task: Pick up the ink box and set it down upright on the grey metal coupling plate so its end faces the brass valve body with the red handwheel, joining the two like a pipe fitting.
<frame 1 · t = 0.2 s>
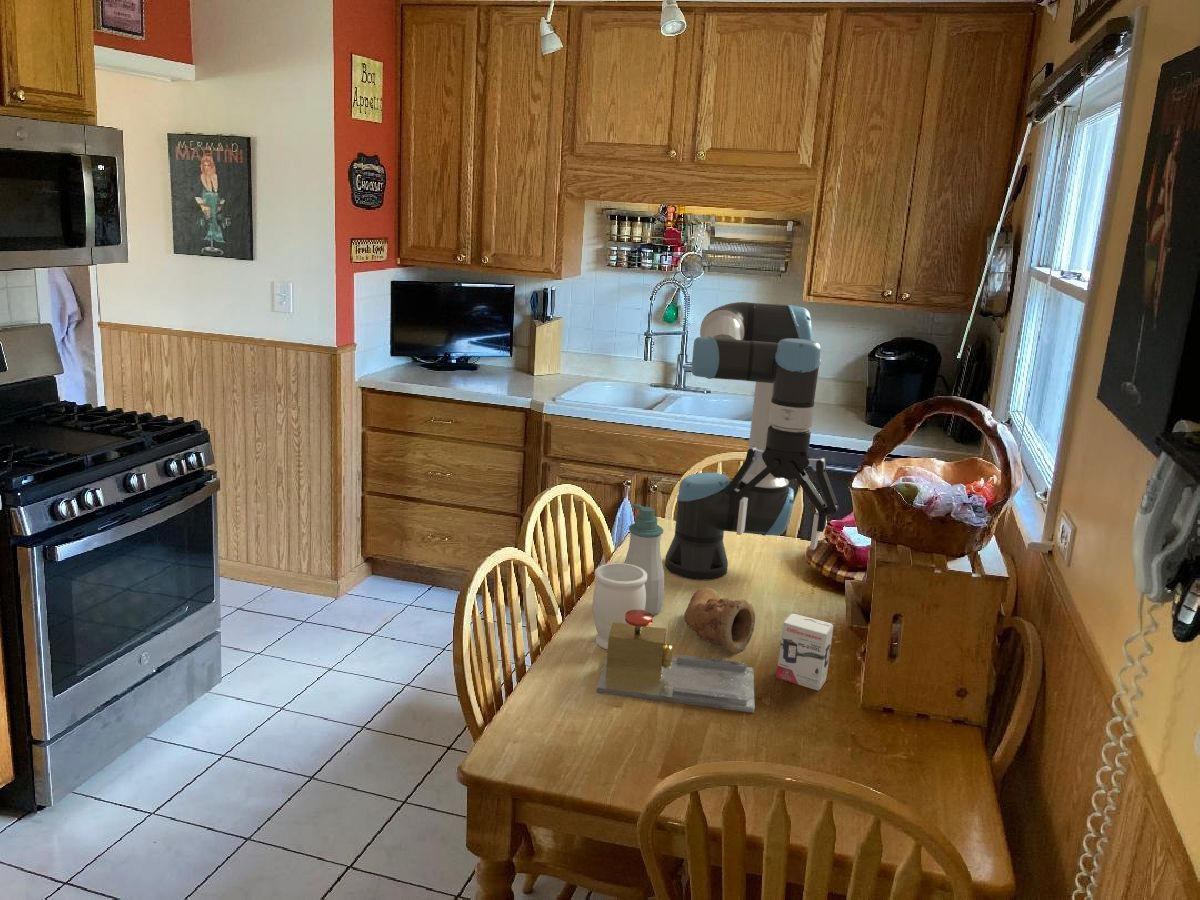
hand: (776, 540, 172), 27 cm above the table, fingers open, 13 cm apart
clay pipe: (717, 637, 194), on the table
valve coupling: (677, 682, 174), on the table
soap bottle: (639, 609, 204), on the table
ink box: (800, 680, 178), on the table
jar: (616, 643, 188), on the table
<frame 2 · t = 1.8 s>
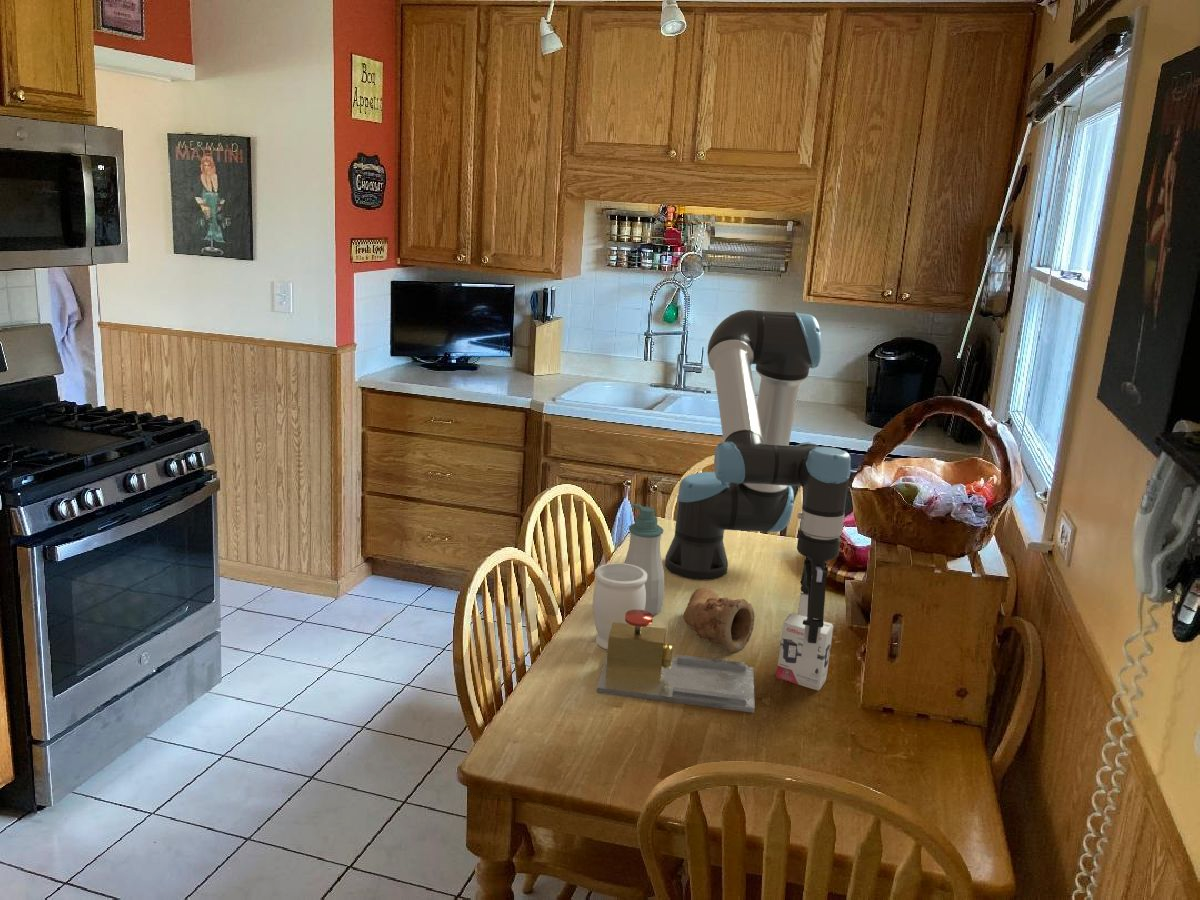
hand: (806, 641, 176), 8 cm above the table, fingers open, 13 cm apart
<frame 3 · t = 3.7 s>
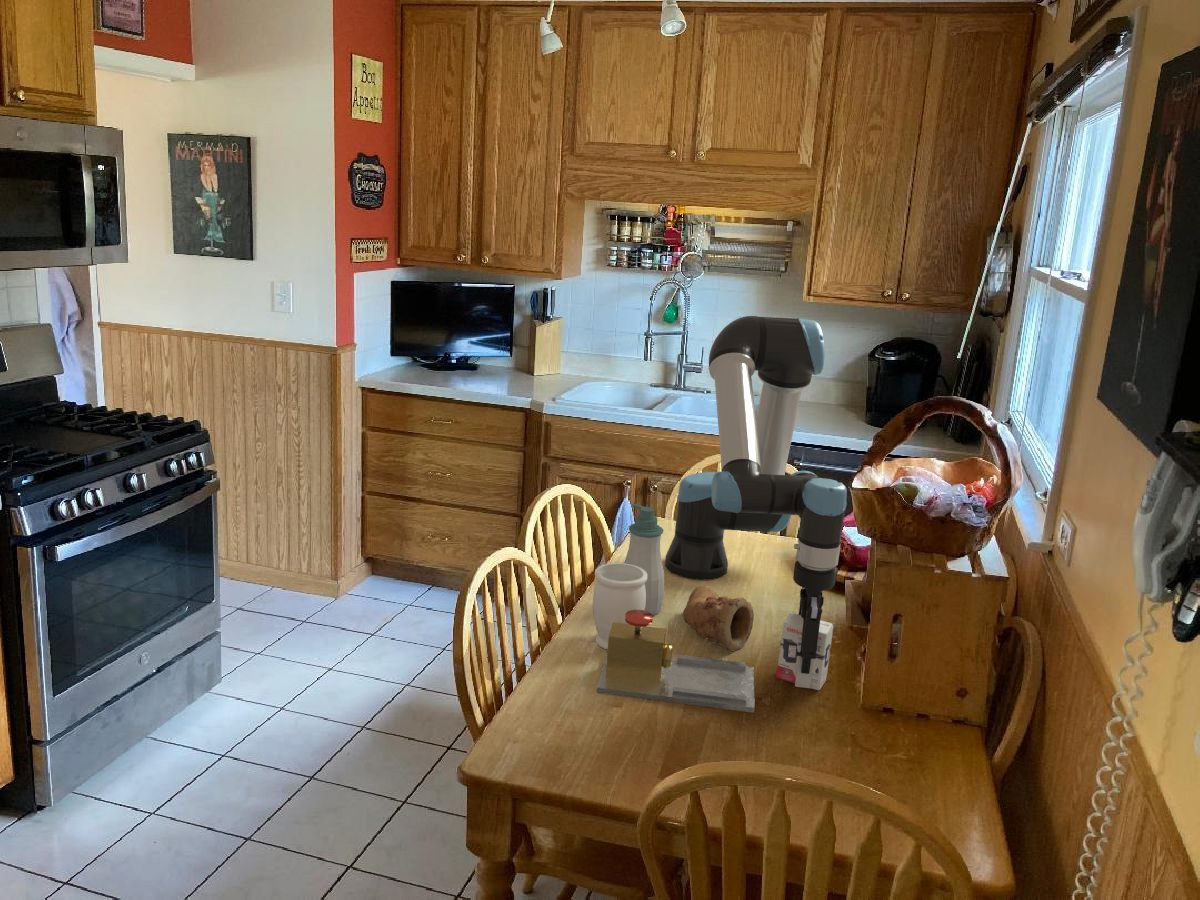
hand: (801, 677, 178), 0 cm above the table, fingers closed on ink box, 6 cm apart
ink box: (800, 680, 178), on the table, touching gripper
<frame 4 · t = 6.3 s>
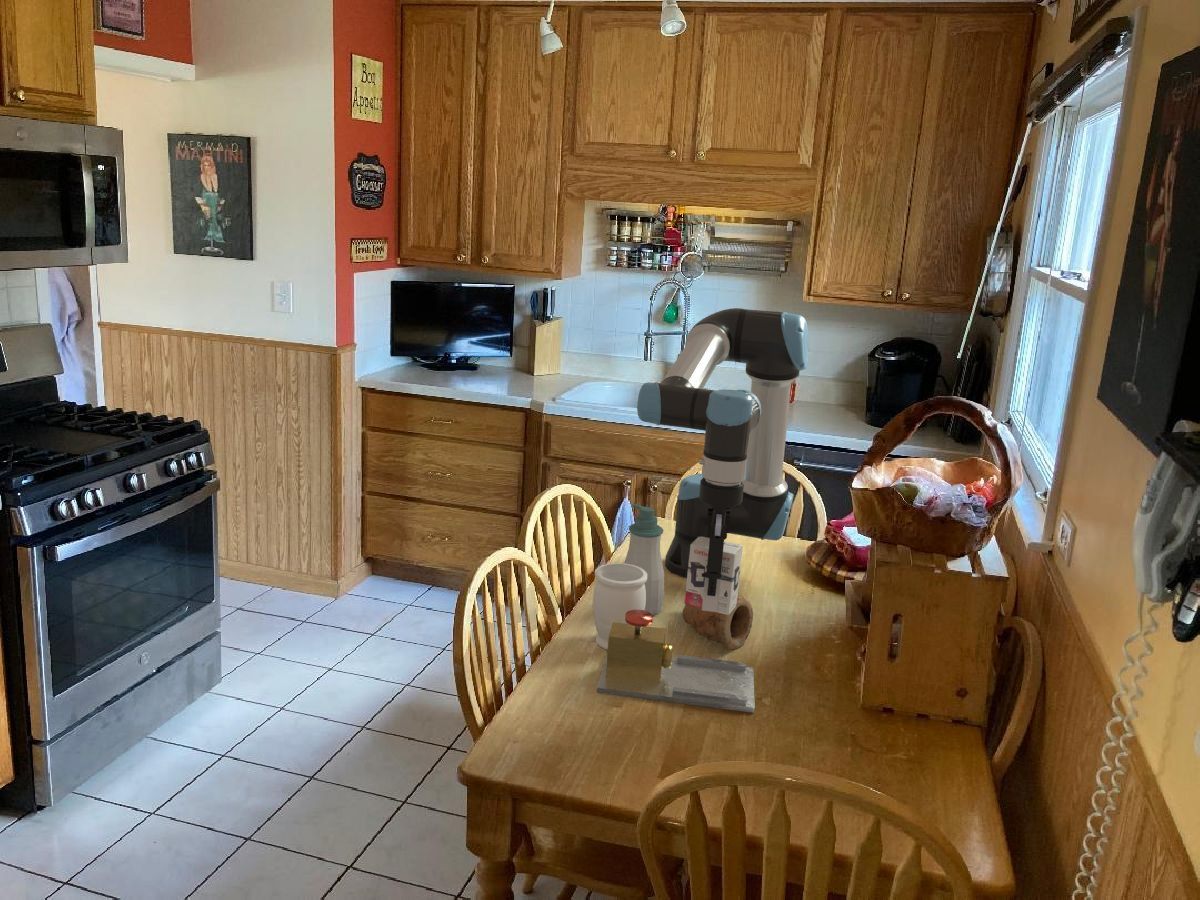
hand: (710, 602, 169), 17 cm above the table, fingers closed on ink box, 6 cm apart
ink box: (710, 606, 170), point 16 cm above the table, touching gripper
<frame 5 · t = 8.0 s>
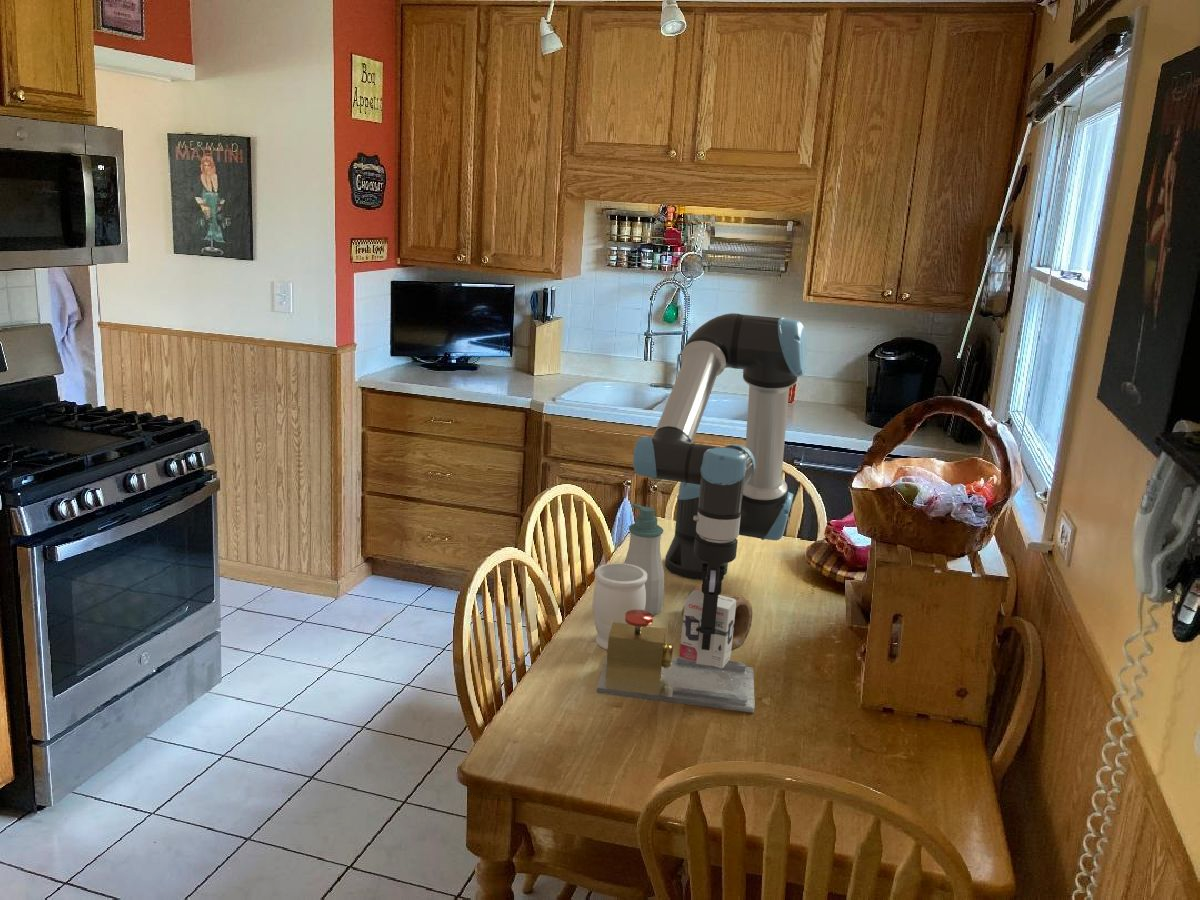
hand: (704, 654, 172), 6 cm above the table, fingers closed on ink box, 6 cm apart
ink box: (704, 658, 172), point 5 cm above the table, touching gripper
when the fingers open (3 cm above the table, at t = 9.4 s): ink box drops 1 cm, resting on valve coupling.
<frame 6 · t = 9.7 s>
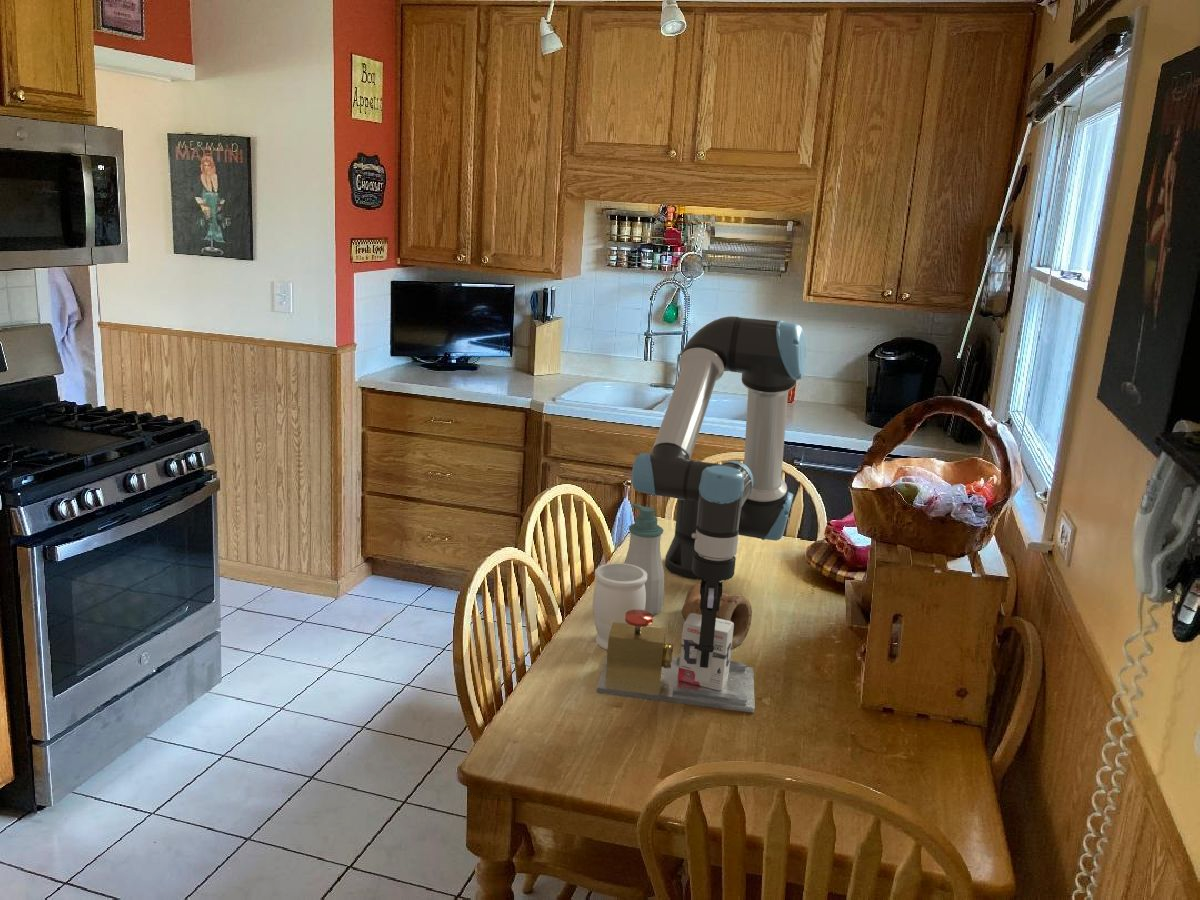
hand: (703, 668, 173), 3 cm above the table, fingers open, 9 cm apart
ink box: (702, 681, 173), point 1 cm above the table, touching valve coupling
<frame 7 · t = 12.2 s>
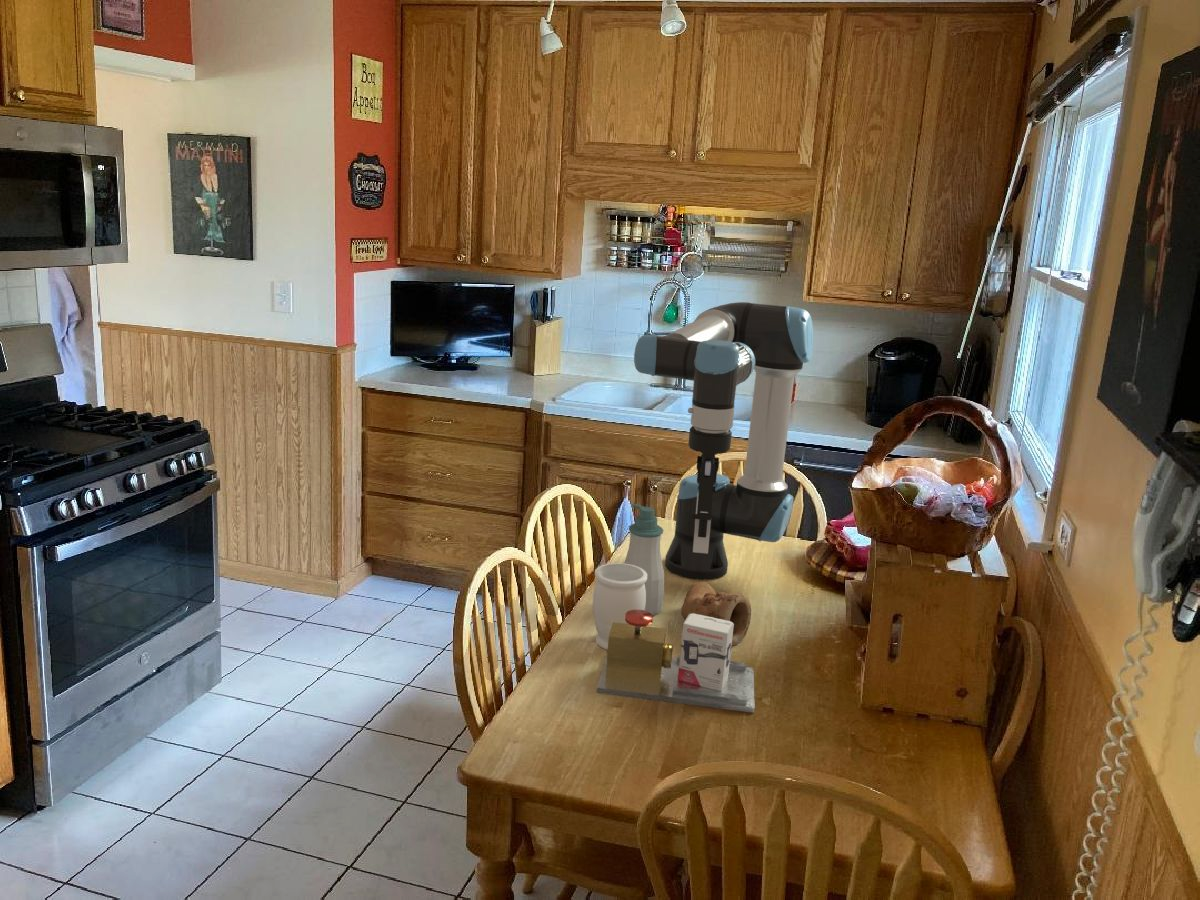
hand: (701, 538, 175), 26 cm above the table, fingers open, 13 cm apart
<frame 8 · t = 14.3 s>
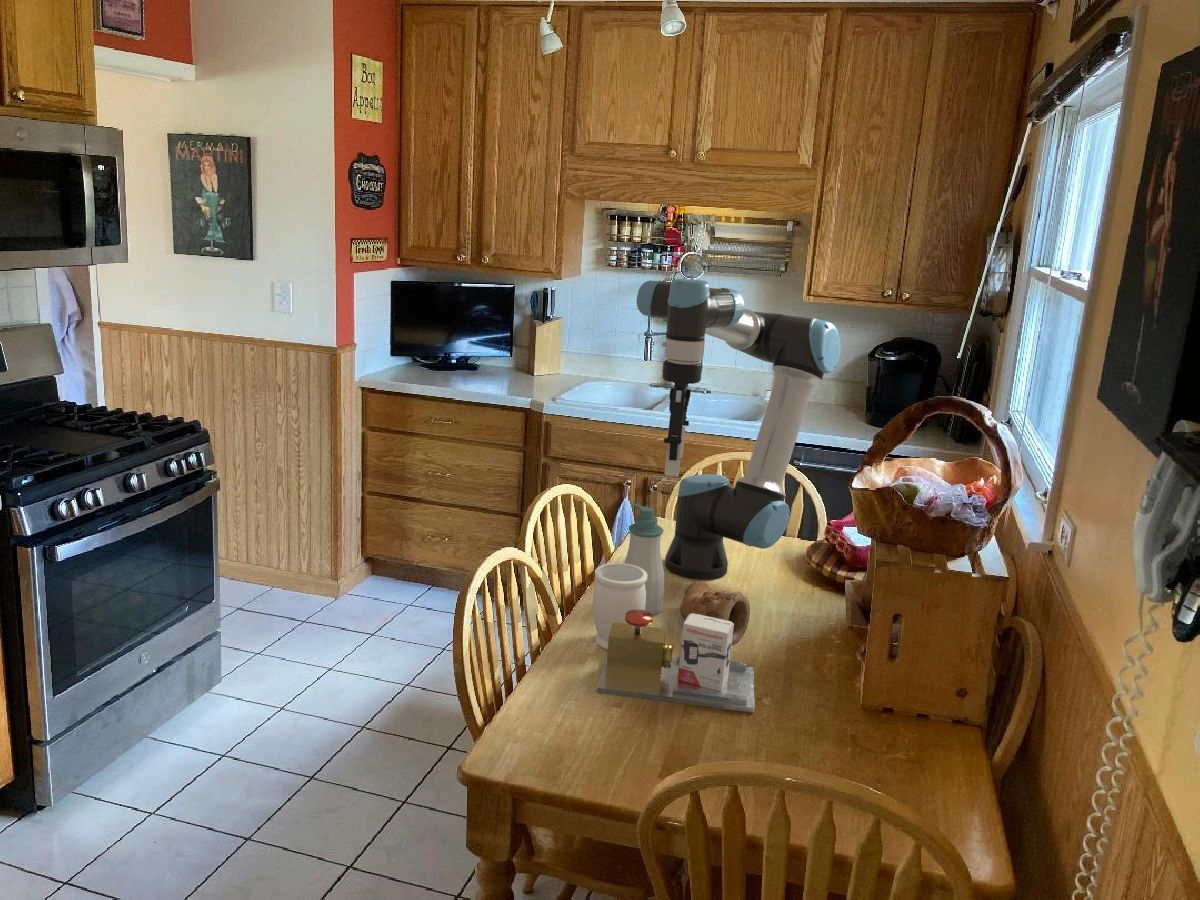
hand: (673, 466, 188), 35 cm above the table, fingers open, 13 cm apart
at the end: ink box 0.2 cm from the target spot on the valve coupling, point 0.8 cm above the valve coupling's base; ink box tilted 0°; the gripper is holding nothing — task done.
